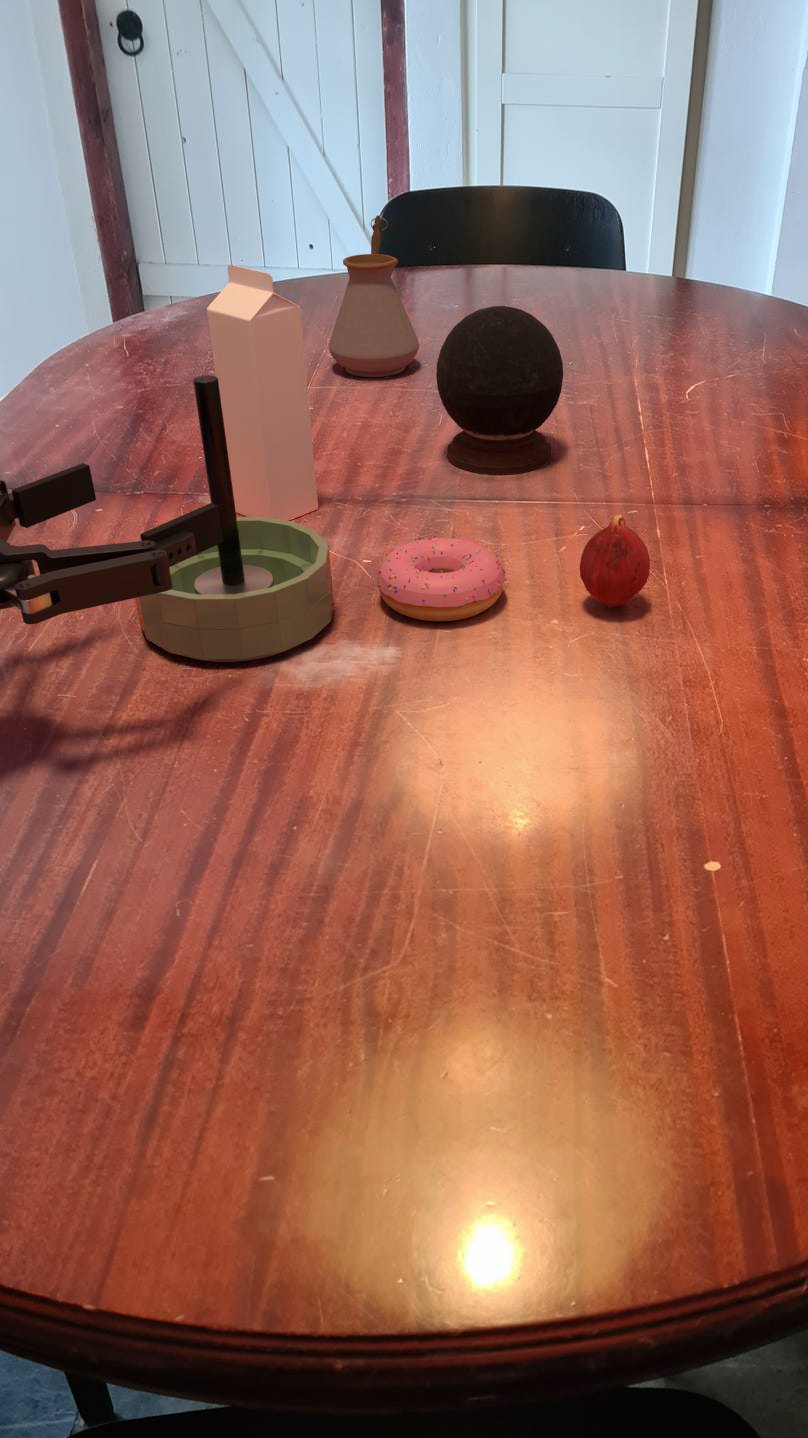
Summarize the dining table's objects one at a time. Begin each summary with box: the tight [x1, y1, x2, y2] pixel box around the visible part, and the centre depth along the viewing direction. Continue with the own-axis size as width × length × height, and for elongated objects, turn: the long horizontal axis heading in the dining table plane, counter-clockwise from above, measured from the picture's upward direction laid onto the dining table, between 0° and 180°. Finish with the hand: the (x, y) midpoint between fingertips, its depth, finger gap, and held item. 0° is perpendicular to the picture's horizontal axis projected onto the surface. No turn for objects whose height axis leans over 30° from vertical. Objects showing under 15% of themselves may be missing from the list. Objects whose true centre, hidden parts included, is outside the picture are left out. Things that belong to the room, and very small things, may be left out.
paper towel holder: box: [192, 374, 274, 595], centre depth 96 cm, size 6×6×19 cm
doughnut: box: [374, 535, 507, 622], centre depth 104 cm, size 11×11×4 cm
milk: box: [206, 264, 319, 521], centre depth 115 cm, size 6×6×22 cm
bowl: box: [134, 516, 335, 663], centre depth 101 cm, size 16×16×6 cm
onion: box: [579, 514, 651, 609], centre depth 102 cm, size 6×6×8 cm
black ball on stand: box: [435, 305, 564, 476], centre depth 128 cm, size 13×13×15 cm
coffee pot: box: [328, 215, 420, 378], centre depth 157 cm, size 21×12×15 cm, turn 179°
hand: (151, 501), depth 91 cm, fingers open, 13 cm apart
